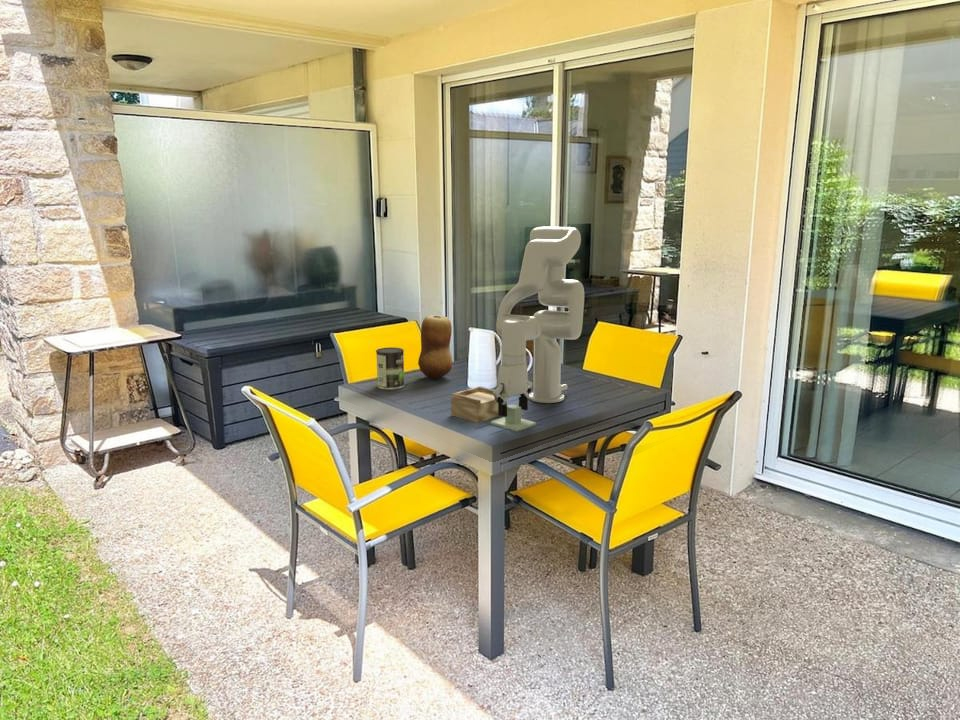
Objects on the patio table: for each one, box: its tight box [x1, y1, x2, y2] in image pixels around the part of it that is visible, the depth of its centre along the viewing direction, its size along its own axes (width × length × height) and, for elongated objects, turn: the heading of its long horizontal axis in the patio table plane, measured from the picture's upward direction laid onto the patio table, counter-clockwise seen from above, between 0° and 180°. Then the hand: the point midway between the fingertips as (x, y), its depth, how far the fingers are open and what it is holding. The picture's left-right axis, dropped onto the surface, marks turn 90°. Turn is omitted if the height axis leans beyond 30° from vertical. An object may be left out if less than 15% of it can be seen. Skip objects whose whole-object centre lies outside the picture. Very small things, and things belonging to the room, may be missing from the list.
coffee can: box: [375, 346, 405, 391], centre depth 266 cm, size 10×10×14 cm
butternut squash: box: [417, 314, 453, 380], centre depth 277 cm, size 14×13×25 cm
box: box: [450, 385, 508, 424], centre depth 232 cm, size 14×12×7 cm
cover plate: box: [490, 404, 537, 432], centre depth 222 cm, size 9×11×6 cm
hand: (513, 412), depth 222 cm, fingers open, 9 cm apart
